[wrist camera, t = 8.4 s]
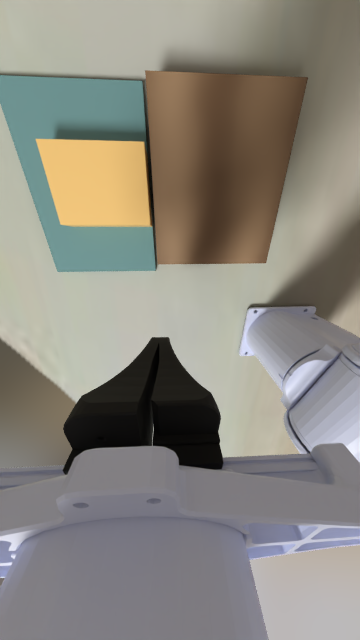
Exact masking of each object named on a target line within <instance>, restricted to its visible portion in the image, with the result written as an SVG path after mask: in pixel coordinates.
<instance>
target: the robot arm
mask: <svg viewBox="0 0 360 640" xmlns="http://www.w3.org/2000/svg"><path fill="white" fill-rule="evenodd" d="M255 310H256V312H254V311H255ZM304 310H305V311H304ZM315 312H316V307H314V306H293V307H251V308H249V309H248V310H247V315H246V320H245V324H244V329H243V334H242V339H241V344H240V349H239V354H240V355H241V356H253V355H255V356H256V357H257V358H258V360H259V361H260V362H261V364H262V365H263V366H264V368H265V369H266V370H267V372H268V373H269V375H270V376H271V377H272V379H273V380H274V381H275V383H276V384H277V385H278V387H279V388H280V389H281V391H282V392H283V396H282V398H281V399H280V400H281V401H282V403H283V404H284V406H285V407H286V409H287V411H286V412H285V414H284V425H285V428H286V431H287V433H288V435H289V437H290V439H291V440H292V442H293V444H294V445H295V447H296V448H297V450H298V451H299V452H300V453H301V454H288V455H267V456H246V457H225V458H223V457H222V453H221V449H220V445H219V443H220V438H219V434H218V430H219V425H220V420H221V416H220V412H219V409H218V407H217V404H216V402H215V400H214V398H213V396H212V394H211V393H210V392H209V391H208V390H206V389H205V388H204V387H202V386H201V385H200V384H199V383H198V382H197V381H195V379H194V378H193V377H192V376H191V375H190V374H189V373H188V372H187V371H186V370H185V368H184V367H183V366H182V365H181V363H180V362H179V360H178V358H177V357H176V355H175V353H174V351H173V349H172V347H171V344H170V340H169V338H168V337H152V338H151V340H150V341H149V343H148V344H147V345H146V347H145V348H144V349H143V351H142V352H141V353H140V354H139V355H138V356H137V357H136V359H135V360H134V361H133V362H132V363H131V364H130V365H129V366H127V367H126V368H125V369H124V370H123V371H122V372H120V373H119V374H118V375H116V376H115V377H114V378H112V379H111V380H109V381H108V382H106V383H104V384H103V385H101V386H99V387H98V388H96V389H94V390H92V391H90V392H88V393H87V394H85V395H83V396H81V398H80V399H79V401H78V402H77V404H76V405H75V407H74V408H73V410H72V412H71V414H70V415H69V417H68V419H67V420H66V422H65V424H64V428H63V430H64V433H65V435H66V437H67V439H68V441H69V443H70V445H71V447H72V452H71V454H70V456H69V458H68V460H67V462H66V464H65V465H57V466H36V467H16V468H15V467H14V468H0V578H5V579H4V581H3V583H2V585H1V587H0V640H268V636H267V631H266V627H265V623H264V619H263V615H262V611H261V607H260V603H259V598H258V595H257V590H256V586H255V582H254V578H253V574H252V570H251V565H250V561H249V560H253V559H260V558H266V557H273V556H279V555H286V554H293V553H299V552H306V551H312V550H320V549H327V548H336V547H344V546H353V545H360V338H359V337H357V336H356V335H354V334H352V333H350V332H348V331H346V330H344V329H342V328H341V327H339V326H337V325H335V324H333V323H331V322H329V321H327V320H325V319H323V318H321V317H319V316H317V315H315ZM245 352H246V353H245ZM153 424H154V434H153ZM152 436H153V446H152Z"/></svg>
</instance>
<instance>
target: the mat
mask: <svg viewBox="0 0 360 640" xmlns="http://www.w3.org/2000/svg"><path fill="white" fill-rule="evenodd" d="M0 104H1V107H2V110H3V112H4V115H5V118H6V121H7V124H8V127H9V130H10V133H11V136H12V139H13V142H14V145H15V148H16V151H17V154H18V157H19V160H20V163H21V165H22V168H23V171H24V174H25V177H26V180H27V183H28V186H29V189H30V192H31V195H32V198H33V201H34V204H35V207H36V210H37V213H38V216H39V218H40V221H41V224H42V227H43V230H44V233H45V236H46V239H47V242H48V245H49V248H50V251H51V254H52V257H53V260H54V263H55V266H56V269H57V272H83V271H156V263H155V249H154V235H153V220H152V227H72V226H65V225H61V224H60V221H59V217H58V214H57V211H56V207H55V204H54V200H53V197H52V193H51V190H50V187H49V183H48V180H47V176H46V173H45V169H44V166H43V162H42V159H41V156H40V152H39V149H38V145H37V142H36V139H64V140H101V141H139V142H144V143H145V147H146V151H147V154H148V148H147V134H146V119H145V105H144V91H143V83H142V81H132V80H106V79H81V78H56V77H31V76H6V75H0ZM148 169H149V163H148ZM149 183H150V177H149ZM150 198H151V191H150ZM151 212H152V206H151Z"/></svg>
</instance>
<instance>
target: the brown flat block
mask: <svg viewBox="0 0 360 640" xmlns="http://www.w3.org/2000/svg"><path fill="white" fill-rule="evenodd" d="M145 72H146V88H147V104H148V119H149V135H150V151H151V167H152V182H153V198H154V214H155V229H156V245H157V261H158V264H232V263H266V261H267V256H268V252H269V247H270V243H271V238H272V234H273V230H274V225H275V221H276V216H277V212H278V208H279V203H280V199H281V194H282V190H283V185H284V181H285V177H286V172H287V168H288V163H289V159H290V155H291V150H292V146H293V141H294V137H295V133H296V128H297V124H298V119H299V115H300V110H301V106H302V102H303V97H304V93H305V88H306V84H307V80H308V77H285V76H261V75H238V74H215V73H191V72H168V71H145Z"/></svg>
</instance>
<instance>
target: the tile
mask: <svg viewBox="0 0 360 640" xmlns="http://www.w3.org/2000/svg"><path fill="white" fill-rule="evenodd" d="M36 142H37V145H38V149H39V152H40V156H41V159H42V162H43V166H44V169H45V173H46V176H47V180H48V183H49V187H50V190H51V193H52V197H53V200H54V204H55V207H56V211H57V214H58V217H59V221H60V224H61V225H65V226H72V227H152V212H151V198H150V183H149V169H148V154H147V151H146V147H145V143H144V142H139V141H101V140H64V139H36Z"/></svg>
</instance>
